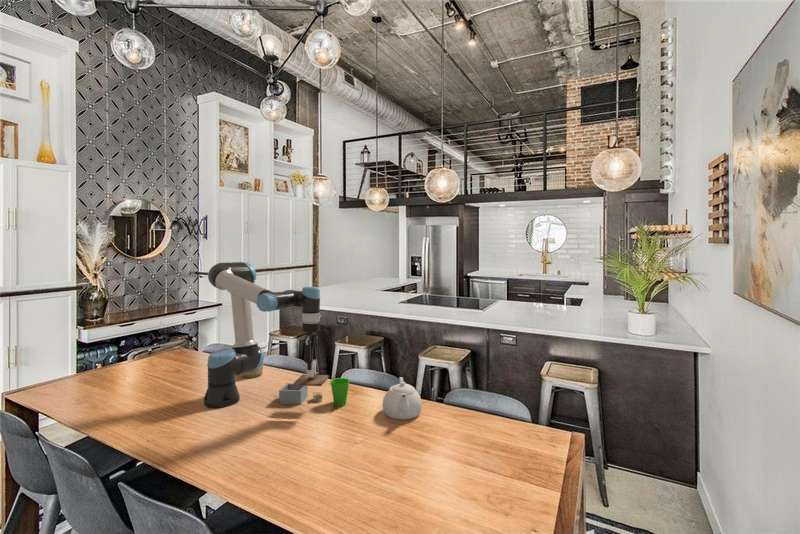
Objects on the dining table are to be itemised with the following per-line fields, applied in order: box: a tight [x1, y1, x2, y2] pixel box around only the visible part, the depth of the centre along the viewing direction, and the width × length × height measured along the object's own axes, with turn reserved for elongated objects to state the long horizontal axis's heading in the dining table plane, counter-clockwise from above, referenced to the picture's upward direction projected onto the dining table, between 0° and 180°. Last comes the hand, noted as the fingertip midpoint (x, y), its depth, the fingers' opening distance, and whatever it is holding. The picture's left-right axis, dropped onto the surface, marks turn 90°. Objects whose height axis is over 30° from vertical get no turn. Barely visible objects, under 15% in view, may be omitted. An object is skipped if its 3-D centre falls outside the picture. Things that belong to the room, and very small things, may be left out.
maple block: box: [312, 391, 323, 403], centre depth 184 cm, size 4×4×4 cm
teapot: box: [382, 376, 423, 421], centre depth 173 cm, size 19×18×14 cm
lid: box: [293, 359, 330, 387], centre depth 174 cm, size 12×12×9 cm
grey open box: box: [278, 382, 309, 405], centre depth 184 cm, size 10×10×7 cm
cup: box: [329, 377, 351, 408], centre depth 181 cm, size 9×9×11 cm
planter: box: [241, 359, 265, 379], centre depth 224 cm, size 13×13×10 cm
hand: (311, 375), depth 174 cm, fingers closed on lid, 3 cm apart
